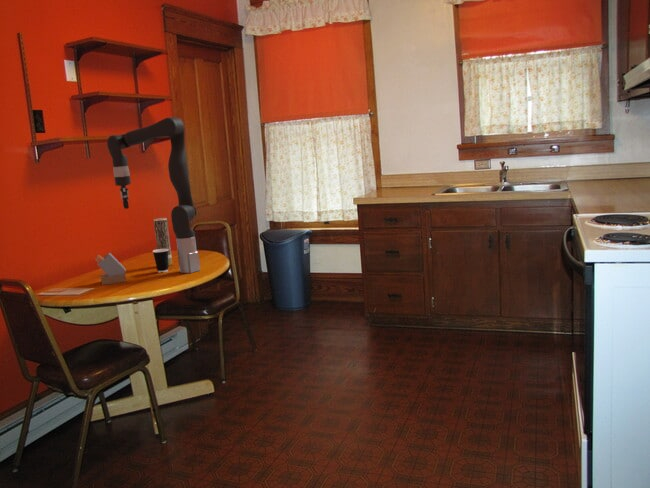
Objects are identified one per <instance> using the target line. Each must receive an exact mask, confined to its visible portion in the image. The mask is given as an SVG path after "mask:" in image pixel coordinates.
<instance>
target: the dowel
mask: <svg viewBox="0 0 650 488" xmlns="http://www.w3.org/2000/svg"><path fill="white" fill-rule="evenodd" d="M103 260H104V256H101V255H100V254H97V256H96V257H95V258H94V261H96V262H97V263H98V262H99V263H100V262H101V261H103Z"/></svg>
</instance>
